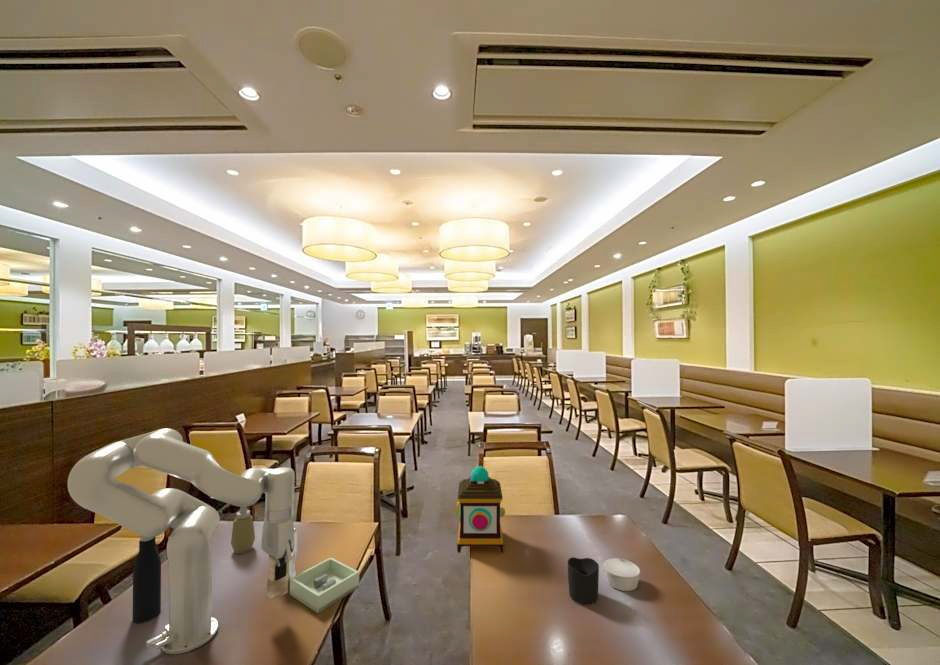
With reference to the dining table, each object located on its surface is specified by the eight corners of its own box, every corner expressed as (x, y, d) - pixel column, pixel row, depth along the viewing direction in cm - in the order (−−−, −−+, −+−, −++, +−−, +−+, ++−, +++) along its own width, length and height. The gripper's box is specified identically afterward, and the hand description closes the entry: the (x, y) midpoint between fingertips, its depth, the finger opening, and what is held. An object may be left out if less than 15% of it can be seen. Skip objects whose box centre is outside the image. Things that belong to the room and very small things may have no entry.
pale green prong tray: (318, 613, 118) (318, 596, 118) (289, 594, 127) (289, 578, 127) (359, 587, 130) (359, 571, 130) (330, 571, 139) (330, 557, 139)
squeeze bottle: (259, 548, 155) (259, 501, 155) (237, 557, 148) (238, 508, 148) (247, 542, 159) (248, 496, 159) (226, 551, 152) (226, 504, 152)
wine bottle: (137, 626, 113) (138, 519, 113) (128, 618, 116) (129, 514, 116) (164, 613, 118) (165, 511, 118) (155, 605, 121) (156, 506, 122)
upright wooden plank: (270, 600, 113) (273, 560, 114) (266, 597, 114) (269, 557, 115) (287, 592, 117) (290, 553, 118) (282, 589, 119) (285, 551, 119)
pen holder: (577, 583, 132) (577, 552, 132) (604, 596, 125) (604, 564, 125) (562, 596, 125) (561, 564, 125) (589, 610, 119) (589, 576, 119)
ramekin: (645, 582, 132) (645, 566, 132) (632, 598, 124) (632, 581, 124) (612, 569, 140) (612, 554, 140) (598, 583, 132) (598, 567, 132)
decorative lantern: (507, 556, 149) (506, 474, 149) (453, 555, 149) (453, 474, 149) (503, 530, 169) (502, 458, 169) (456, 530, 169) (456, 458, 169)
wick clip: (324, 594, 125) (324, 586, 125) (314, 587, 128) (314, 579, 128) (335, 587, 128) (335, 579, 128) (324, 581, 132) (324, 573, 132)
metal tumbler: (288, 584, 132) (288, 538, 132) (269, 581, 133) (270, 536, 134) (301, 572, 139) (301, 528, 139) (283, 569, 140) (283, 526, 140)
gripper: (252, 509, 118) (250, 572, 118) (281, 524, 109) (280, 593, 108) (277, 501, 124) (275, 561, 124) (307, 515, 115) (305, 580, 115)
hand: (277, 575), depth 116 cm, fingers closed on upright wooden plank, 2 cm apart
